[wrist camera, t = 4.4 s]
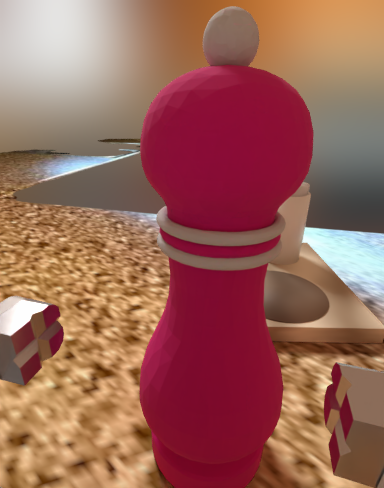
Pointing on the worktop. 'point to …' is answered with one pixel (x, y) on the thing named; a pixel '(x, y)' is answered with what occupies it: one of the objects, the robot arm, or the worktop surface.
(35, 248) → the worktop surface
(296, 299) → the condiment board
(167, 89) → the pepper mill
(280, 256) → the salt shaker
